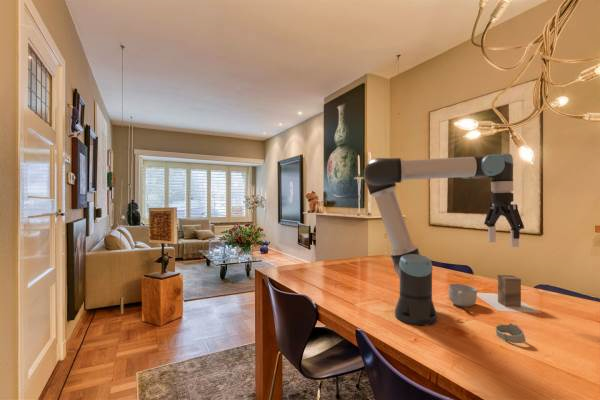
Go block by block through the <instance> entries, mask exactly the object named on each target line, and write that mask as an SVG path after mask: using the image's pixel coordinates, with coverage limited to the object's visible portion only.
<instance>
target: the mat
mask: <svg viewBox="0 0 600 400" xmlns="http://www.w3.org/2000/svg"><path fill="white" fill-rule="evenodd" d="M477 298H479V299H481V300H482V301H484V302H485V303H487V304H488V305H490V306H491V307H492V308H494V310H497V311H498V312H512V313H514V312H515V313H535V314H536V313H539V314H542V311H540V310H538V309H536V308H534V307H532V306H530V305H529V304H527V303H525V302H523V301H522V300H521V308H515V307H504V306H503V305H501V304H500V303H498V293H492V292H491V293H488V292H487V293H486V292H477Z"/></svg>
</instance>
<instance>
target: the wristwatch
mask: <svg viewBox="0 0 600 400" xmlns="http://www.w3.org/2000/svg"><path fill="white" fill-rule="evenodd" d="M494 330H495V333H496V334H495V335H496V336H497V337H498V338H499V337H500V338H499V339H501V338H502V339H503V340H502V339H501V340H502V341H504V340H505V341H504V342H506V341H507V342H509V343H512V344H522V343H525V342H526V336H525V333H524V330H523V329H522V328H520V326H518V325H517V324H513V323H512V322H510V323H509V324H498V325H496V326H495V327H494Z"/></svg>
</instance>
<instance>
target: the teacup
mask: <svg viewBox="0 0 600 400" xmlns="http://www.w3.org/2000/svg"><path fill="white" fill-rule="evenodd" d="M477 293H478V288H476V287H474V286H472V285H467V284H465V283H450V284H448V298H449V300H450V301H451V302H452V303H453V305H455V306H458V307H462V308H465V307H467V308H469V307H472V306H473V305H476V302H477V298H478V296H477Z"/></svg>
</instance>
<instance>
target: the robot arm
mask: <svg viewBox="0 0 600 400" xmlns="http://www.w3.org/2000/svg"><path fill="white" fill-rule="evenodd" d="M362 177H363V180H364V182H365V184H366V187H367V189H368V193H369V195H370V196H372V197H373V198H374V199H375V203H376V206H377V208H378V211H379V213H380V214H379V215H380V218H381V219H382V223H383V225H384V228H385V232H386V234H387V238H388V241H389V243H390V245H391V249H392V250H391V251H390V257H391V261H392V262H393V268H394V271H395V272H396V274H397V275H398V277H399V297H398V300H397V302H396V305H395V309H394V316H395V318H396V319H397V320H398V321H401V322H404V323H405V324H409V325H415V326H430V325H434V324H436V323H437V321H438V313H437V310H436V308H435V305H434V302H433V263H432V260H431V259H430V258H429V257H427V256H426V255H422V254H421V253H420V251H419V248H418V246H417V245H415V244H413V242H412V239H411V237H410V236H411V235H410V233H409V230H408V228H407V224H406V221H405V219H404V216H403V214H402V210H401V207H400V205H399V201H398V199H397V195H396V193H395V189H396V188H397V183H399V184H400V183H402V182H403V181H408V180H409V181H410V180H429V179H431V180H432V179H450V178H451V179H453V178H461V179H468V180H470V179H490V191H491V192H492V193H491V194H490V195H491V196H490V197H491V198H490V199H491V202H492V203H489V204H488V210H487V213H486V216H485V219H484V222H483V223H484V226H487V232H488V233H487V237H488V243H496V242H497V238H496V236H497V235H496V234H497V233H496V231H497V230H496V224H497V221H498V220H499V218H500V217H501V216H503V217H504V218H505V219H506V221H507V222H508V224H509V226H510V228H511V229H510V231H509V232H510V248H520V231H521V230H523V229H525V226H524V223H523V220H522V216H521V215H520V211H519V209H518V208H519V205H518V204H515V203H513V204H511V203H512V202H514V201H515V200H514V193H513V191H514V158H513V155H512V154H510V153H498V154H487V155H481V156H461V157H443V158H427V159H425V158H424V159H407V160H404V159H402V158H401V157H397V158H396V157H395V158H394V157H393V158H391V157H390V158H389V157H388V158H387V157H378V158H377V157H376V158H374V159H371V160H370V161H368V162H367V163H366V165H365V168H364V170H363V176H362Z"/></svg>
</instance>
